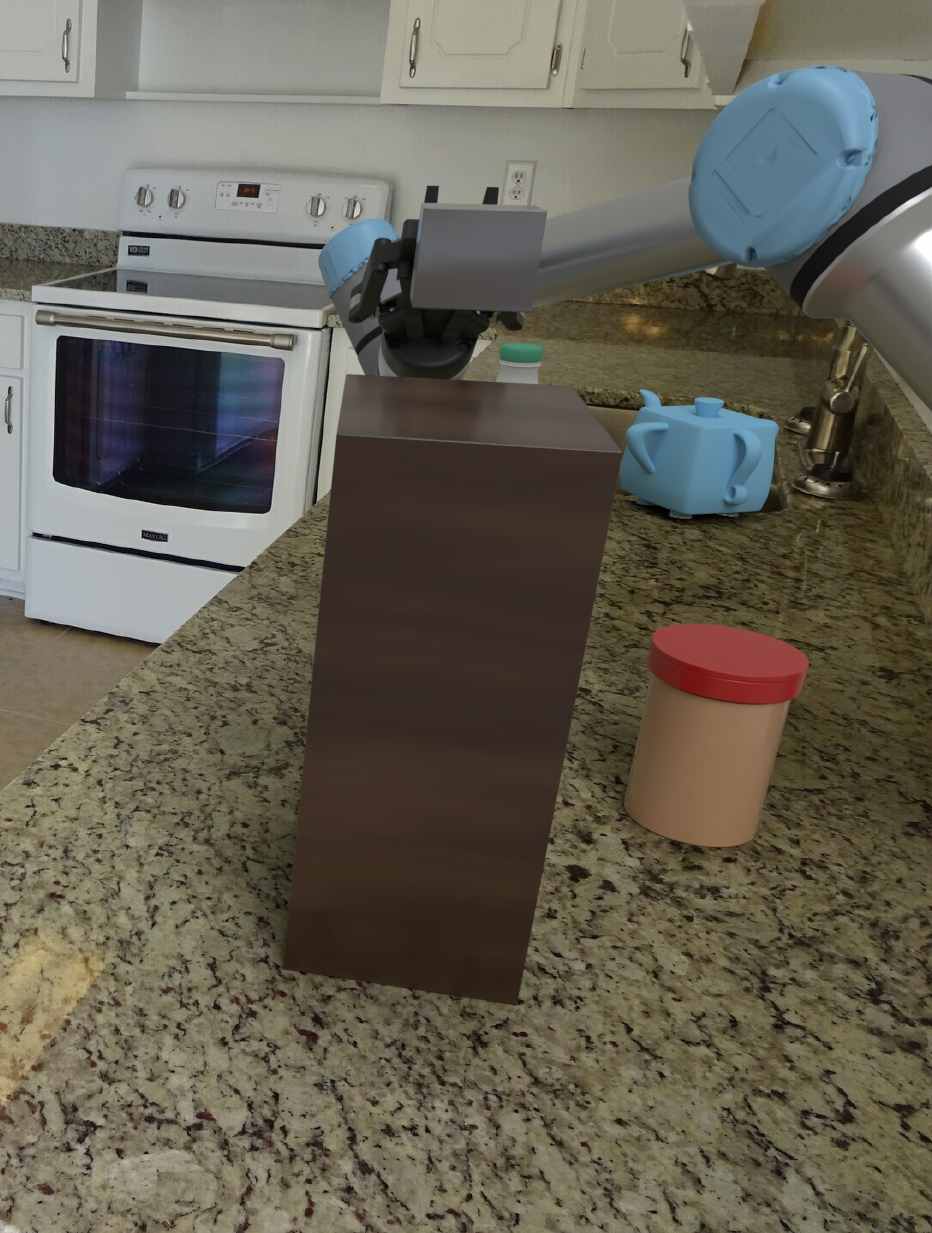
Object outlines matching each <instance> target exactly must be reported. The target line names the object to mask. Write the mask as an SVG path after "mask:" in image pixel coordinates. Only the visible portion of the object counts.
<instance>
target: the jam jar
mask: <svg viewBox="0 0 932 1233" xmlns="http://www.w3.org/2000/svg"><path fill="white" fill-rule="evenodd" d="M649 678H650V679H649V682H648V687H647V691H646V697H645V702H644V705H643V710H642V715H641V719H640V720H641V721H640V725H639V729H638V734H637V738H636V743H635V748H634V752H633V757H632V761H631V766H630V771H629V776H628V780H627V784H626V790H625V795H624V798H623V799H624V800H623V807H624V810H625V812H626V813H627V815H628V816H629V817H630V818H631V819H632V820H633V821H635V822H636V823H637V824H638V825H640V826H641V827H643V828H644V829H647V830H648V831H651V832H652V833H654V834H657V835H659V836H662V837H664V838H667V839H670V840H672V841H676V842H680V843H684V844H688V845H693V846H694V845H695V846H697V847H708V848H730V847H731V848H732V847H736V846H740V845H744V844H747V843H749V842H750V841H752V840H753V839H754V838H755V836H756V834H757V832H758V828H759V825H760V824H759V823H760V820H761V816H762V813H763V810H764V805H765V801H766V798H767V794H768V791H769V790H768V789H769V786H770V782H771V778H772V774H773V771H774V766H775V763H776V760H777V757H778V752H779V748H780V745H781V741H782V738H783V733H784V729H785V725H786V722H787V718H788V714H789V711H790V706H791V703H792V699H791V700H789V701H785V702H780V703H771V704H749V703H736V702H730V701H724V700H718V699H712V698H709V697H704V696H701V695H697V694H694V693H690V692H687V691H685V690H682V689H679V688H677V687H675V686H672V685H670V684H668V683H666V682H664V681H663V680H661V679H659V678H658V677H656V676H655V675H654V674H653V673H652V672H651V674H650V677H649Z"/></svg>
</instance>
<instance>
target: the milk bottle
mask: <svg viewBox="0 0 932 1233" xmlns="http://www.w3.org/2000/svg"><path fill="white" fill-rule="evenodd" d="M499 351H500V352H499V361H498V364H499V371H498V374H497V376H496V379H495V381H494V382H507V383H526V384H539V369H540V367H541V366H542V360H543V357H544V347H543V346H542V345H539V344H534V343H524V342H508V343H504V344H502V345H501V347H500V350H499Z"/></svg>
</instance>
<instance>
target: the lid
mask: <svg viewBox="0 0 932 1233" xmlns="http://www.w3.org/2000/svg"><path fill="white" fill-rule="evenodd" d="M809 662H810V661H809V659H808V657H807V656H806V655H805V654H804V653H803V652H802V651H801V650H800V649H798V648H797V647H795V646H793V645H791V644H789V643H787V642H785V641H782V640H781V639H778V638H775V637H772V636H769V635H767V634H764V633H760V632H757V631H753V630H748V629H744V628H738V627H732V626H726V625H720V624H710V623H680V624H672V625H667V626H664V627H661V628H659V629H657V630H656V631H654V632H653V634H652V636H651V640H650V644H649V649H648V654H647V659H646V666H647V668H648V670H649V671H650V672H651V673H653V674H654V675H655V676H656V677H658V678H659V679H661V680H663V681H664V682H666V683H668V684H670V685H672V686H675V687H677V688H679V689H682V690H685V691H687V692H690V693H694V694H697V695H701V696H704V697H709V698H712V699H718V700H724V701H730V702H736V703H749V704H771V703H780V702H785V701H789V700H791V701H792V700H794V699H796V698H798V697H799V696H800V694H802V692H803V688H804V686H805V682H806V678H807V674H808V671H809V666H810V663H809Z"/></svg>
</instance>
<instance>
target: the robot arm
mask: <svg viewBox="0 0 932 1233" xmlns="http://www.w3.org/2000/svg"><path fill="white" fill-rule="evenodd" d="M691 168H692V171H691V175H689V176H687V177H683V178H679V179H677V180H673V181H670V182H666V183H662V184H660V185H656V186H652V187H649V188H646V189H642V190H639V191H636V192H633V193H629V194H625V195H622V196H618V197H616V198H612V199H609V200H605V201H603V202H602V201H601V202H599V203H598V202H597V203H595V204H592V205H588V206H584V207H581V208H577V209H575V210H571V211H568V212H565V213H561V214H558V215H554V216H551V217H548V218H547V217H546V224H545V230H544V236H543V243H542V249H541V255H540V262H539V268H538V274H537V281H536V287H535V293H534V300H533V306H532V309H534V308H539V307H544V306H548V305H553V304H557V303H562V302H567V301H571V300H574V299H580V298H584V297H589V296H593V295H598V294H602V293H606V292H610V291H611V292H612V291H615V290H619V289H624V288H629V287H633V286H639V285H642V284H646V283H652V282H656V281H659V280H665V279H669V278H673V277H679V276H683V275H687V274H691V273H696V272H701V271H705V270H710V269H714V268H719V267H722V266H728V265H732V264H735V265H739V266H742V267H746V268H751V269H756V268H764V269H765V270H766V271H767V273H768V274H769V275H770V276H771V277H772V278H773V279H774V280H775V282H776V283H777V284H778V285H779V286H780V287H781V289H782V290H783V291H784V292H785V293H786V294H787V295H788V296H789V297H790V299H792V301H794V302H795V304H796V305H797V306H798V307H799V308H800V309H801V310H802V312H803V313H804V314H805V315H806V316H807V317H808V318H810V319H819V320H820V319H825V320H827V319H828V320H829V319H830V320H831V319H833V320H846V321H849V323H850V324H851V325H853V326H852V327H854V328H855V329H856V330H857V331H858V332H859V333H860V334H861V336H862V337H863V338H864V339H865V340H866V341H867V342H868V343H869V345H871V347H872V348H873V349H874V350H875V351H876V353H878V354H879V355H880V357H882V359H883V360H884V361H885V362H886V363H887V364H888V365H889V366H890V367H891V369H892V370H893V371H894V372H895V374H896V375H897V376H898V377H900V379H901V380H902V381H903V382H904V383H905V384H906V385H907V386H908V388H909V389H910V390H911V391H912V393H914V394H915V395H916V397H918V398H919V399H920V401H921V402H922V403H923V404H924V405H925V406H926V407H927V408H928V410H929V411H930V412H932V77H929V76H925V75H919V74H908V73H907V74H905V73H884V72H869V71H860V70H859V71H858V70H848V69H847V68H845V67H843V66H842V67H841V66H837V65H830V64H821V65H811V66H807V67H803V68H797V69H790V70H785V71H781V72H777V73H774V74H772V75H769V76H767V77H765V78H763V79H760V80H759V81H757V82H755V83H753V84H751V85H750V86H748V87H747V88H745V89H744V90H743V91H741V92H740V93H738V94H737V95H736V96H735V97H734V98H733V99H731V101H729V103H727V105H726V106H725V107H724V108H723V109H722V110H720V112H719V113H718V115H717V116H716V117H715V119H714V120H713V121H712V122H711V124H710V125H709V127H708V129H707V130H706V132H705V134H704V135H703V137H702V139H701V140H700V143H699V145H698V147H697V150H696V153H695V155H694V158H693V162H692V165H691ZM439 189H440V185H426V189H425V195H424V201H423V203H439V202H438V200H439V192H440V190H439ZM499 192H500V187H499V186H486V189H485V192H484V196H483V200H482V203H481V204H489V205H499ZM418 225H419V218H406V220H404V221H403V223H402V228H401V235H399V234H398V233H396V231H395V229H394V227H393V225H392V224H391V223H390V222H389V221H386V219H383V218H379V217H373V218H367V219H363V220H360V221H357V222H355V223H352V224H351V225H349V226H347V227H345V228H344V229H342V230H341V231H339V232H338V233H336V234H335V235H334V236H333V237H332V238H331V239H330V240H329V241H328V242H326V243H325V245H324V246H323V248H322V249H321V250H320V253H319V255H318V260H317V264H318V269H319V271H320V274H321V277H322V281H323V283H324V285H325V288H326V290H327V297H328V299H330V300H331V302H332V304H333V306H334V309H335V311H336V312H337V316H338V317H339V319H340V322H341V324H342V325H343V328H344V330H345V332H346V334H347V337H348V339H349V341H350V344H351V345H352V347H353V350H354V352H355V354H356V357H357V361H358V363H359V365H360V367H361V369H362V372H363V375H374V376H393V377H412V378H431V379H450V380H464V378H465V377H466V375H467V372H468V368H469V365H470V363H471V360H472V357H473V354H474V352H475V348H476V346H477V343H478V340H479V336H480V335H482V334H483V333H485V332H486V331H488V329H489V328H490V325H493V324H494V325H495V324H496V325H497V326H503V327H505V329H506V330H508V331H511V332H518V331H521V330H523V329H524V320H525V313H524V312H500V311H477V310H453V309H429V308H413V307H412V303H411V298H410V292H411V284H412V275H413V267H414V259H415V250H416V242H417V234H418Z"/></svg>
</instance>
